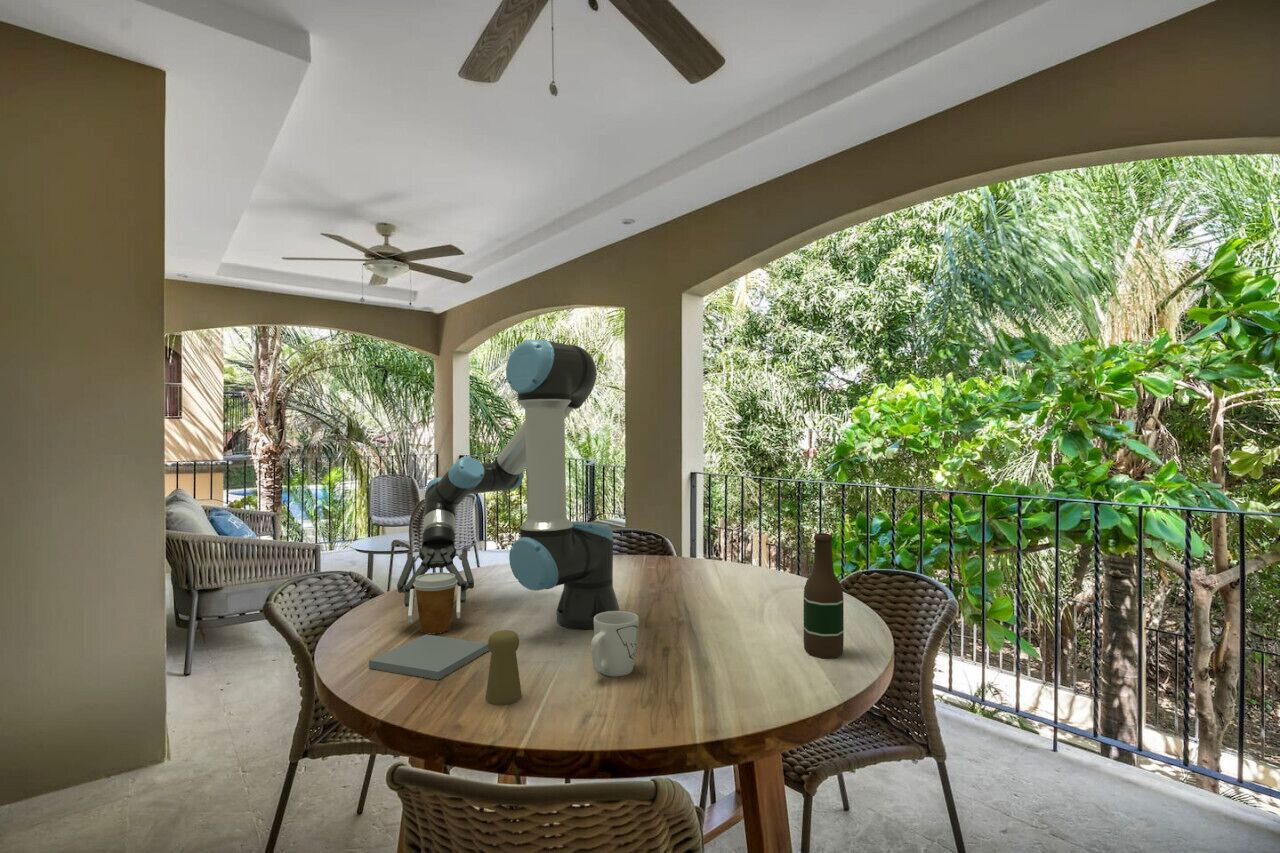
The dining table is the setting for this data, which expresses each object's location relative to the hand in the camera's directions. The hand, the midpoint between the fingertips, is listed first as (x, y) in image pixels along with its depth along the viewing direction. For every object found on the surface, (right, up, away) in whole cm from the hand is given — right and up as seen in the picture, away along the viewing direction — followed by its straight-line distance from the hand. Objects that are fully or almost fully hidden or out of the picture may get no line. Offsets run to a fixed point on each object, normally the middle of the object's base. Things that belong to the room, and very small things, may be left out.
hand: (434, 616), depth 139 cm
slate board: (+4, -4, -15) cm, 16 cm away
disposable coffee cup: (-1, -4, +3) cm, 5 cm away
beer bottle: (+83, -4, -11) cm, 83 cm away
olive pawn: (+22, -4, -32) cm, 39 cm away
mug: (+40, -4, -22) cm, 46 cm away
